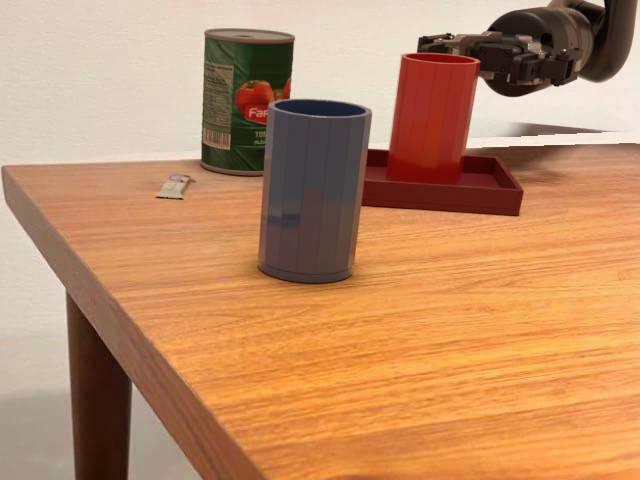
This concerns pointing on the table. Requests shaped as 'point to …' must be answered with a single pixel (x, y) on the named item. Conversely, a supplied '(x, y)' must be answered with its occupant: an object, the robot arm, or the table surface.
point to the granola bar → (175, 186)
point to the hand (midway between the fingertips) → (467, 65)
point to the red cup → (431, 118)
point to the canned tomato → (241, 95)
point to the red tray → (446, 188)
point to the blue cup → (312, 188)
